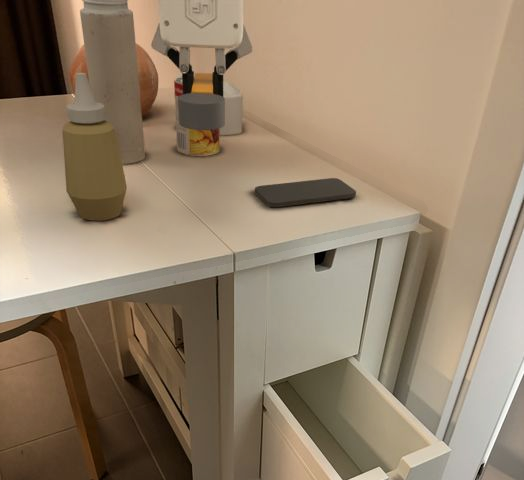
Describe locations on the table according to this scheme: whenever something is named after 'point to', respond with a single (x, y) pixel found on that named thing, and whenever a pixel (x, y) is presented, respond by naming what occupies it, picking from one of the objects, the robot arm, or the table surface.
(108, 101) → the thermos bottle
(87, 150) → the squeeze bottle
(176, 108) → the canned food
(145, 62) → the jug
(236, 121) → the pale grey slab
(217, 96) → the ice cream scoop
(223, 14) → the robot arm
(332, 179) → the phone
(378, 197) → the table surface
